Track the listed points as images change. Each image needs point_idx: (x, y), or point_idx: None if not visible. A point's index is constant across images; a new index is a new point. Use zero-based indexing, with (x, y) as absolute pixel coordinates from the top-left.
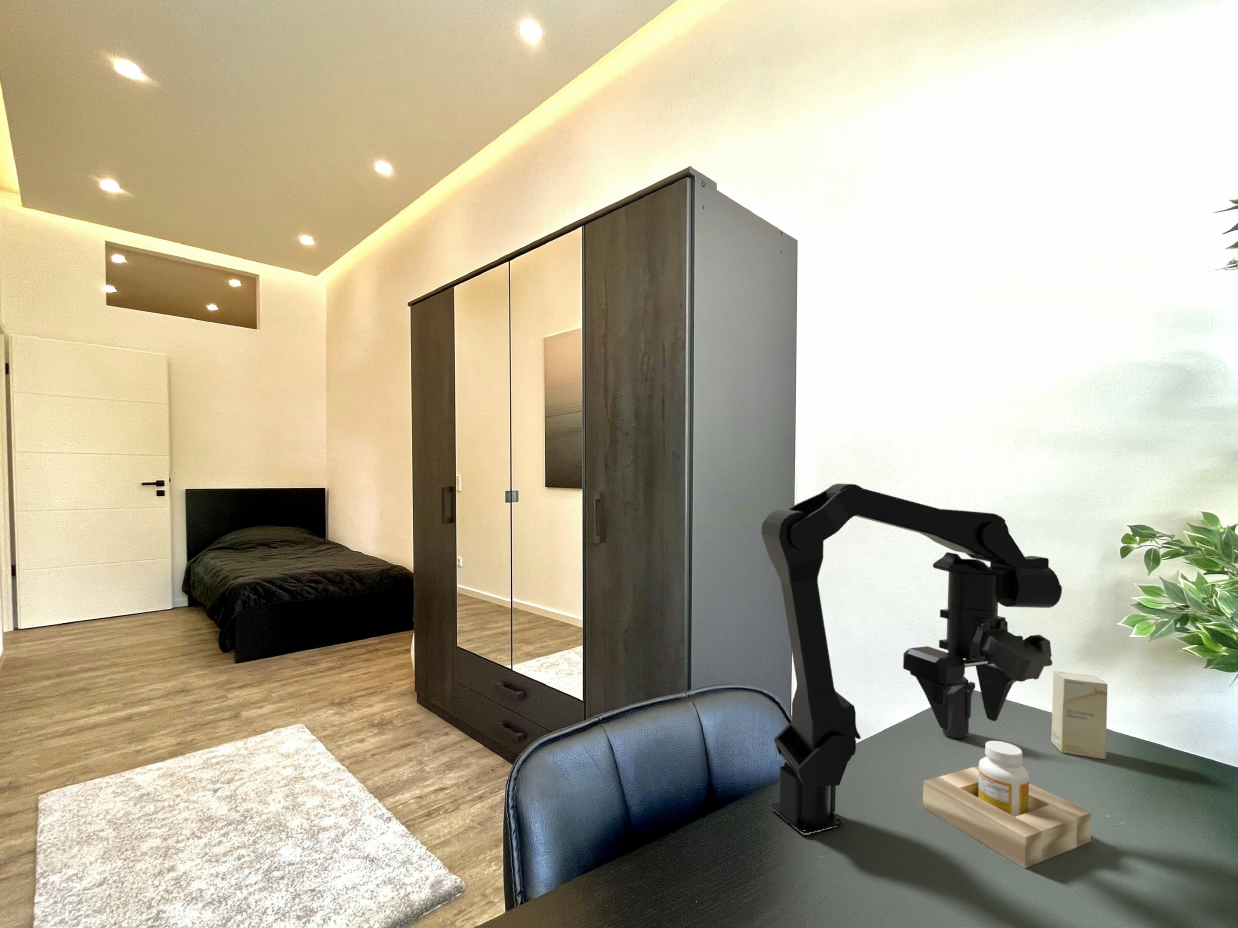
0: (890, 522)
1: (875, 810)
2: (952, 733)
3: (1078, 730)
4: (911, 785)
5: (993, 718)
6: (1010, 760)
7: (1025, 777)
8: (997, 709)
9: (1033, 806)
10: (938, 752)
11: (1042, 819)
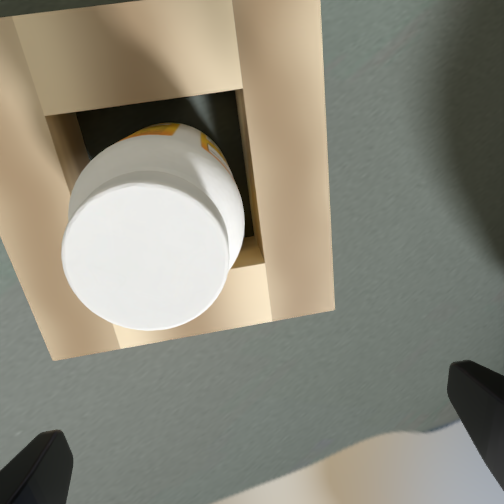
0: None
1: (425, 285)
2: None
3: None
4: (262, 354)
5: (56, 444)
6: (184, 184)
7: (131, 141)
8: (16, 493)
9: (73, 164)
10: None
11: (158, 48)
